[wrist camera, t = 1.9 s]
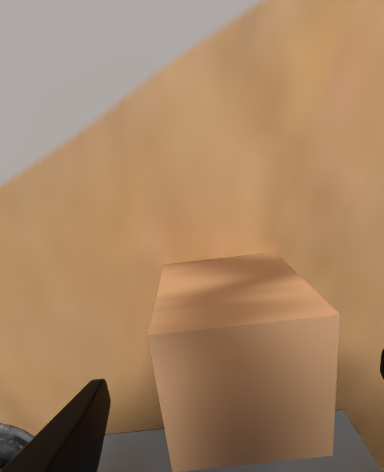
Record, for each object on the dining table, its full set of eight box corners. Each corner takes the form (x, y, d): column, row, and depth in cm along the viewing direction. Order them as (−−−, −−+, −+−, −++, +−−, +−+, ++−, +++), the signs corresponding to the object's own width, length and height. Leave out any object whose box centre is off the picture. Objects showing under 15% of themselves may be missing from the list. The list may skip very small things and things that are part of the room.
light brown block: (274, 251, 11) (340, 314, 6) (276, 345, 13) (332, 455, 8) (163, 263, 11) (147, 335, 6) (177, 355, 13) (172, 472, 8)
